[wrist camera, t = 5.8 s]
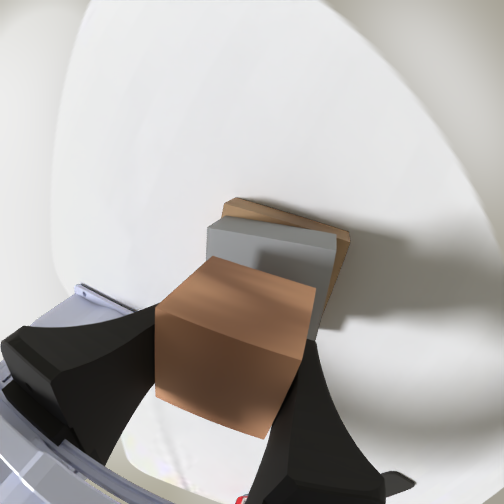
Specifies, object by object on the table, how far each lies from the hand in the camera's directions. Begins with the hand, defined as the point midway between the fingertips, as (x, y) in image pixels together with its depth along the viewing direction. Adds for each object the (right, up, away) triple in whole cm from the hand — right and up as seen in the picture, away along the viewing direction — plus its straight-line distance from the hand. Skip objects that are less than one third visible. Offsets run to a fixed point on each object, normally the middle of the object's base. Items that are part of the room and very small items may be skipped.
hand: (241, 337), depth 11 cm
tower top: (+2, +2, +5) cm, 6 cm away
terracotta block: (0, +1, +1) cm, 2 cm away
